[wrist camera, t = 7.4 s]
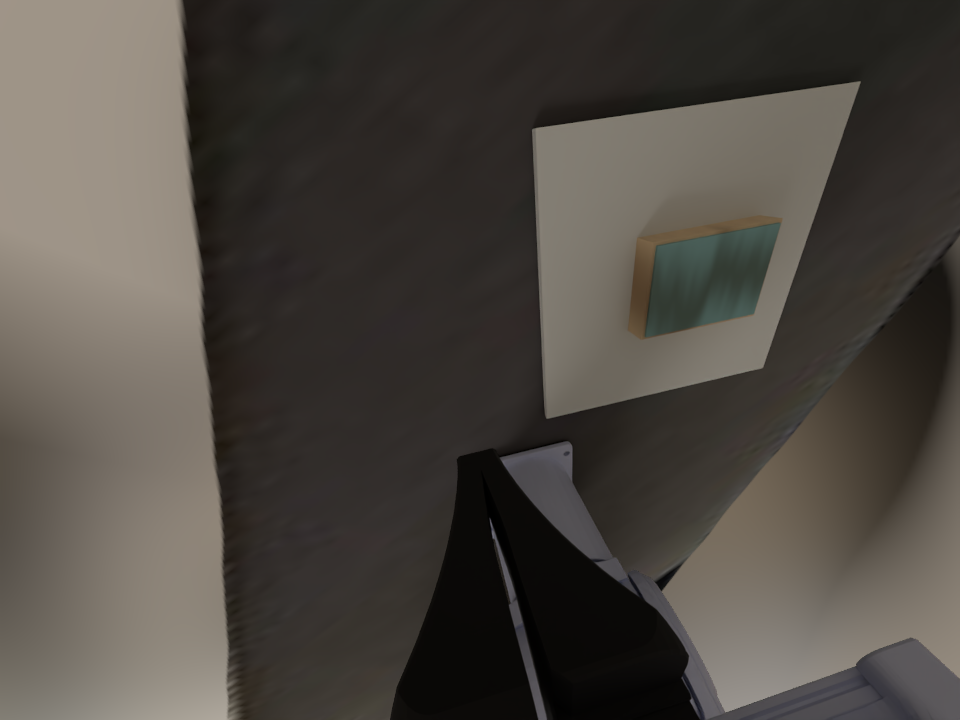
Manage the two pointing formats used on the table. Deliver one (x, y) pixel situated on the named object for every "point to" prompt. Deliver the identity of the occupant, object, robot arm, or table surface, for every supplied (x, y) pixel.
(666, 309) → the wood tile
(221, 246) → the table surface
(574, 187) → the rubber mat
